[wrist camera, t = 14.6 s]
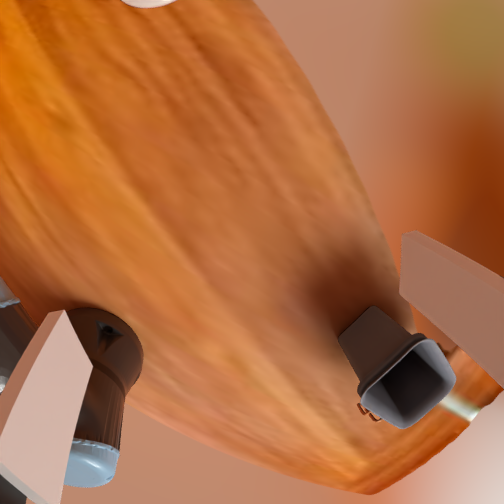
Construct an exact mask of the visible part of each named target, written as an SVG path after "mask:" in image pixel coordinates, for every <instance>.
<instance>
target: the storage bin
mask: <svg viewBox="0 0 504 504" xmlns="http://www.w3.org/2000/svg"><path fill="white" fill-rule="evenodd" d="M338 342H339V344H340V346H341V347H342V349H343V351H344V353H345V355H346V356H347V358H348V360H349V362H350V364H351V365H352V367H353V369H354V371H355V373H356V375H357V376H358V378H359V380H360V383H359V385H358V389H357V392H358V394H359V396H360V397H361V400H360V402H361V404H360V403H358V404H357V406H358V408H359V410H360V411H361V413H362V414H363V415H369V416H370V417H371V419H372V420H373V421H374V422H380V421H381V420H383V419H384V420H385V421H387V422H389V423H390V424H392V425H394V426H396V427H398V428H399V429H405V428H408V427H410V426H412V425H413V424H415V423H416V422H417V421H419V420H420V419H421V418H422V417H423V416H424V415H426V414H427V413H428V412H429V411H430V410H431V409H432V408H433V407H434V406H436V405H437V404H438V403H439V402H440V401H441V400H442V399H443V398H444V397H445V396H446V395H447V394H448V393H449V392H450V391H451V390H452V388H453V386H454V384H455V382H456V376H455V374H454V371H453V370H452V368H451V366H450V364H449V362H448V361H447V359H446V358H445V356H444V354H443V353H442V351H441V350H440V348H439V347H438V345H437V344H436V342H435V341H434V340H433V339H427V337H425V335H424V334H421V333H416V334H413V335H412V334H410V333H409V332H408V331H406V330H405V329H404V328H403V327H401V326H400V325H399V324H398V323H396V322H395V321H394V320H393V319H391V318H390V317H389V316H388V315H386V314H385V313H384V312H383V311H382V310H380V309H379V308H378V307H377V306H371V307H369V308H368V309H367V310H366V311H365V312H364V313H363V314H362V315H361V316H360V317H359V318H358V319H357V320H356V321H355V322H354V323H353V324H352V325H351V326H349V327H348V328H347V329H346V330H345V331H344V332H343V333H342V334H341V335H340V336H339V338H338ZM362 408H363V409H364V410H365V411H366V413H365V412H364V411H363V409H362ZM370 412H373V413H374V414H376V415H377V416H379V417H380V419H379V420H377V419H375V418H374V416H373V415H372V414H371V413H370Z"/></svg>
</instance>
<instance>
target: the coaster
mask: <svg viewBox="0 0 504 504" xmlns="http://www.w3.org/2000/svg"><path fill="white" fill-rule="evenodd" d="M121 1H122V2H124V3H125V4H127V5H129V6H132V7H136V8H156V7H161V6H165V5H167V4H170V3H172V2H175V1H176V0H121Z"/></svg>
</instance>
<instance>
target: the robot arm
mask: <svg viewBox="0 0 504 504" xmlns="http://www.w3.org/2000/svg"><path fill="white" fill-rule="evenodd" d="M399 295H401V296H402V297H403V298H404V299H405V300H407V301H408V302H409V303H410V304H411V305H413V306H414V307H415V308H416V309H417V310H418V311H419V312H421V313H422V314H423V315H424V316H425V317H426V318H428V319H429V320H430V321H431V322H432V323H433V324H435V325H436V326H437V327H438V328H439V329H440V330H441V331H442V332H444V333H445V334H446V335H447V336H448V337H449V338H450V339H451V340H452V341H454V342H455V343H456V344H457V345H458V346H459V347H460V348H461V349H462V350H463V351H465V352H466V353H467V354H468V355H469V356H470V357H471V358H472V359H473V360H474V361H475V362H476V363H477V364H479V365H480V366H481V367H482V368H483V369H484V370H485V371H486V372H487V373H488V374H489V375H490V376H491V377H492V378H493V379H494V380H495V381H496V382H497V383H498V384H499V385H500V386H501V387H502V388H503V389H504V277H502V276H499V275H497V274H495V273H494V272H492V271H490V270H489V269H487V268H485V267H483V266H482V265H480V264H478V263H476V262H475V261H473V260H471V259H469V258H468V257H466V256H464V255H462V254H460V253H458V252H457V251H455V250H453V249H451V248H449V247H447V246H445V245H444V244H442V243H440V242H438V241H436V240H434V239H432V238H430V237H428V236H426V235H424V234H422V233H420V232H418V231H412V232H408V233H404V234H402V248H401V272H400V286H399ZM142 364H143V349H142V346H141V343H140V341H139V339H138V337H137V335H136V334H135V333H134V331H133V330H132V329H131V328H130V327H129V326H128V325H127V324H126V323H125V322H123V321H122V320H121V319H119V318H118V317H116V316H114V315H112V314H110V313H108V312H106V311H103V310H99V309H94V308H78V309H74V310H71V311H68V312H67V313H66V312H65V310H59V311H54V312H49V313H48V315H47V316H46V318H45V319H44V321H43V322H42V324H41V325H40V327H39V328H38V327H37V325H36V324H35V323H34V321H33V320H32V319H31V317H30V316H29V315H28V313H27V312H26V311H25V309H24V308H23V306H22V305H21V303H20V299H19V298H18V297H16V296H15V295H14V294H13V292H12V291H11V290H10V288H9V287H8V286H7V284H6V283H5V281H4V280H3V279H2V277H1V276H0V504H25V503H26V498H29V499H30V500H31V501H33V502H34V503H36V504H60V501H61V495H62V488H63V484H65V485H69V486H75V487H97V486H102V485H104V484H106V483H108V482H110V481H111V479H112V478H113V477H114V474H115V470H116V464H117V459H118V458H119V449H120V438H121V427H122V418H123V410H124V402H125V397H126V395H127V393H128V392H129V390H130V389H131V387H132V386H133V385H134V384H135V382H136V381H137V379H138V378H139V376H140V373H141V370H142Z"/></svg>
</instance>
